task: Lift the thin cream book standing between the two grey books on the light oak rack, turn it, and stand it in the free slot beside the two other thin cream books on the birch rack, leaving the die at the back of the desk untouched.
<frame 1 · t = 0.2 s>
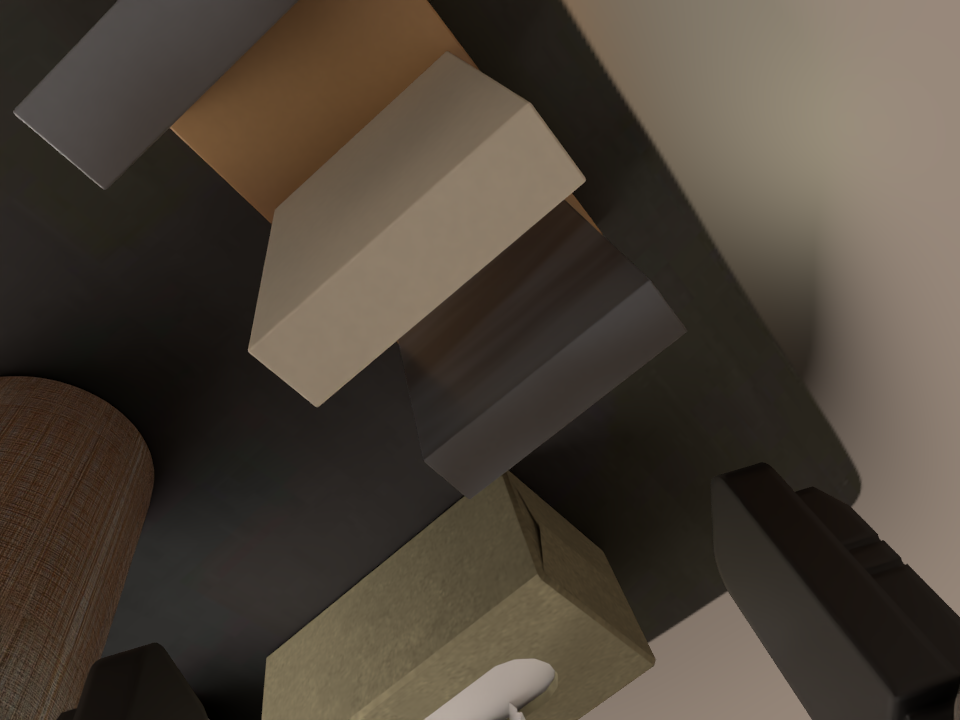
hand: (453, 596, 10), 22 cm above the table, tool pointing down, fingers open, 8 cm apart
grey book rack: (377, 149, 29), on the table
cream book: (379, 156, 27), point 1 cm above the table, touching grey book rack
tissue box: (436, 600, 42), on the table
planter: (40, 464, 32), on the table
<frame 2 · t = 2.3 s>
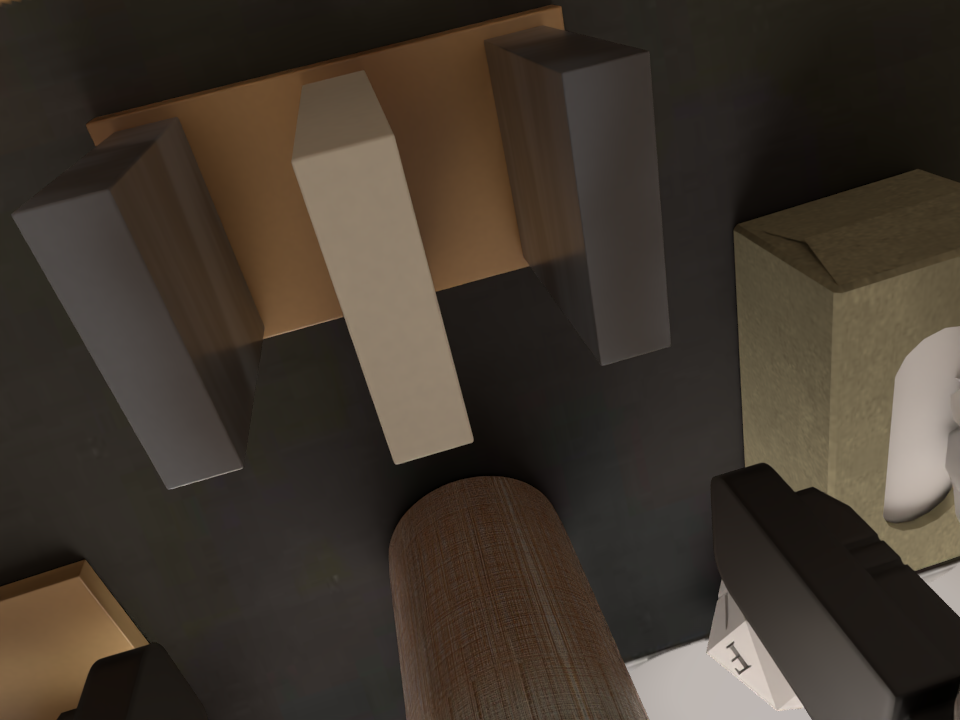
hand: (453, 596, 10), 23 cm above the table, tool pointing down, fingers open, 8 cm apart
grey book rack: (365, 185, 30), on the table
die: (750, 582, 47), on the table
cream book: (367, 193, 28), point 1 cm above the table, touching grey book rack
tissue box: (819, 351, 39), on the table
planter: (474, 540, 40), on the table
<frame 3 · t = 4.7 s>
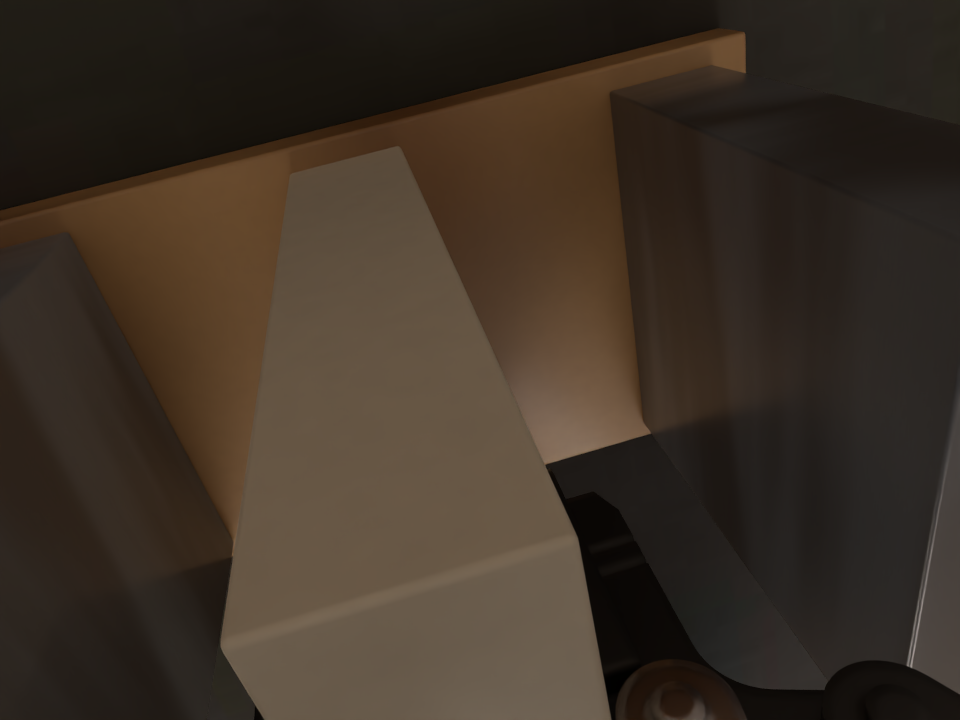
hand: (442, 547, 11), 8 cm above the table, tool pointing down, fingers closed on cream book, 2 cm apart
grey book rack: (396, 320, 18), on the table
cream book: (400, 341, 17), point 1 cm above the table, touching grey book rack, gripper
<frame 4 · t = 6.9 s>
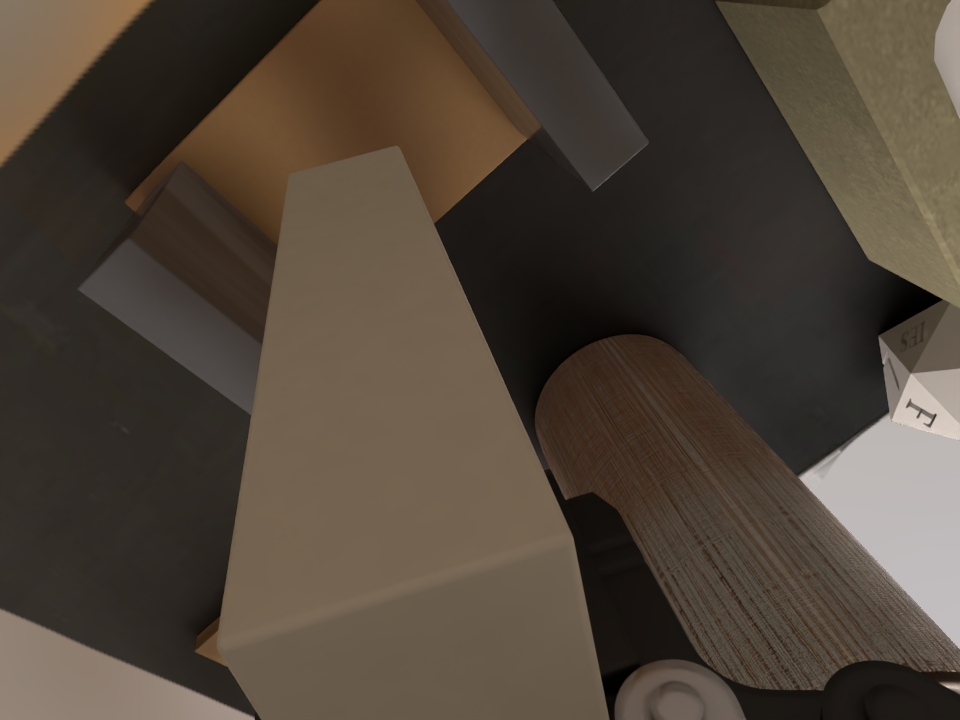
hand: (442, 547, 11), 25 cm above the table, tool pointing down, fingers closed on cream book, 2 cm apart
grey book rack: (356, 140, 32), on the table
die: (916, 337, 45), on the table
cream book: (400, 341, 17), point 18 cm above the table, touching gripper
tissue box: (875, 74, 36), on the table
planter: (612, 404, 42), on the table
cream book rack: (419, 679, 51), on the table
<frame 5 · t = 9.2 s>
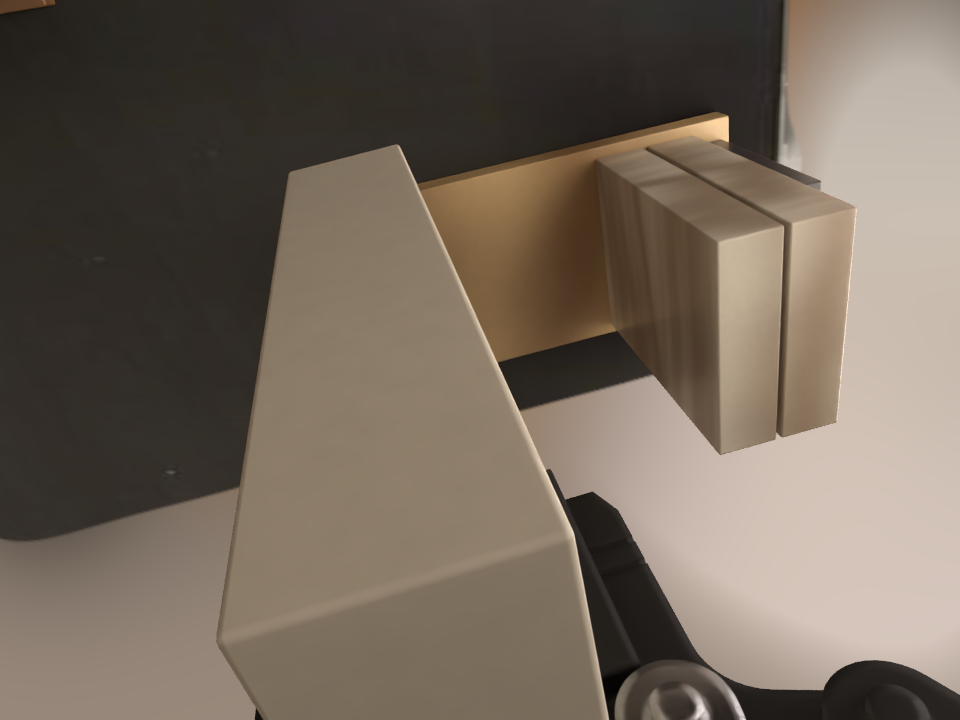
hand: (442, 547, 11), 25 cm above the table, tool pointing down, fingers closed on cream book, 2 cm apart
cream book: (399, 340, 17), point 18 cm above the table, touching gripper
cream book rack: (664, 221, 37), on the table
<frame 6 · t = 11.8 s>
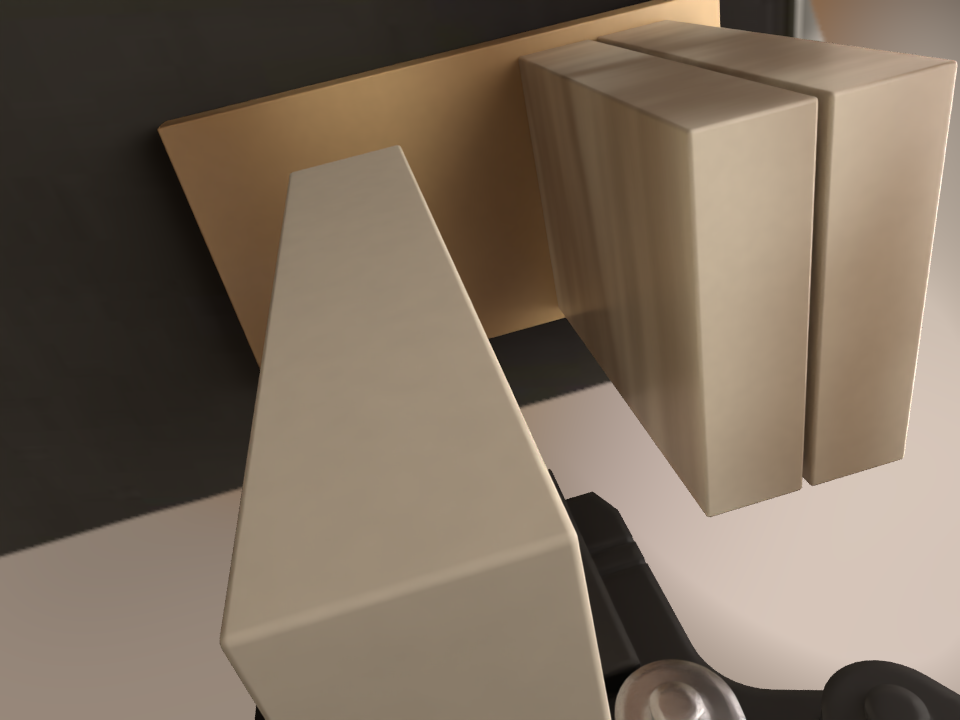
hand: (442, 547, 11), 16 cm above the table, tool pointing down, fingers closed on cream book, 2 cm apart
cream book: (400, 340, 17), point 9 cm above the table, touching gripper
cream book rack: (630, 158, 26), on the table
when the fingers open (8 cm above the table, at t = 13.9 s): cream book stays where it is, resting on cream book rack.
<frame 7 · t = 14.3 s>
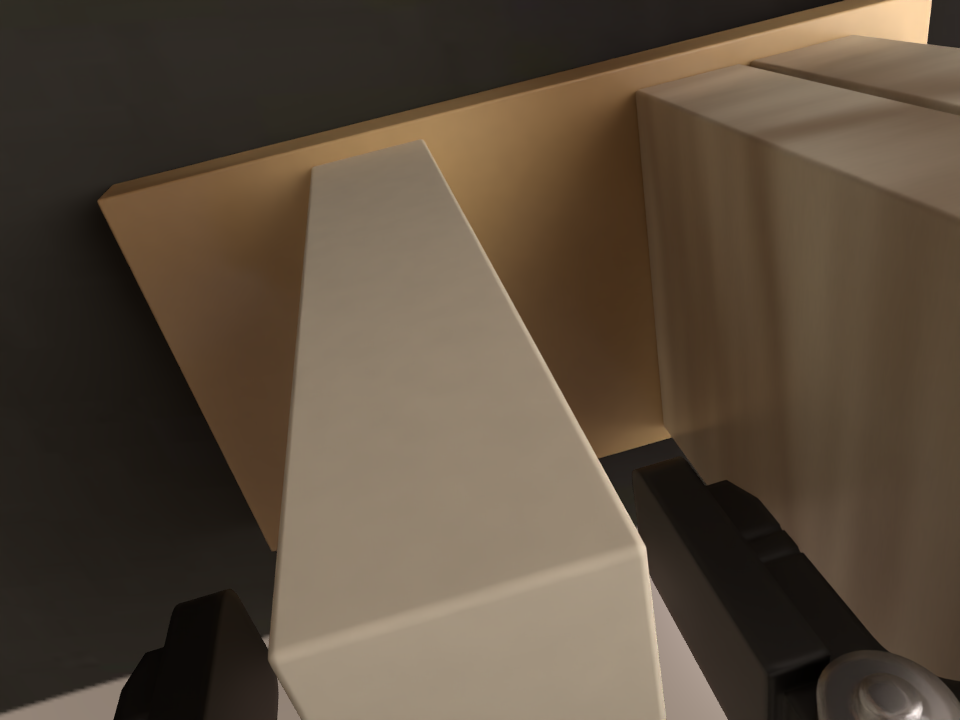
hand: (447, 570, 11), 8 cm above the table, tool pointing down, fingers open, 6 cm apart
cream book: (420, 338, 17), point 1 cm above the table, touching cream book rack
cream book rack: (770, 225, 18), on the table
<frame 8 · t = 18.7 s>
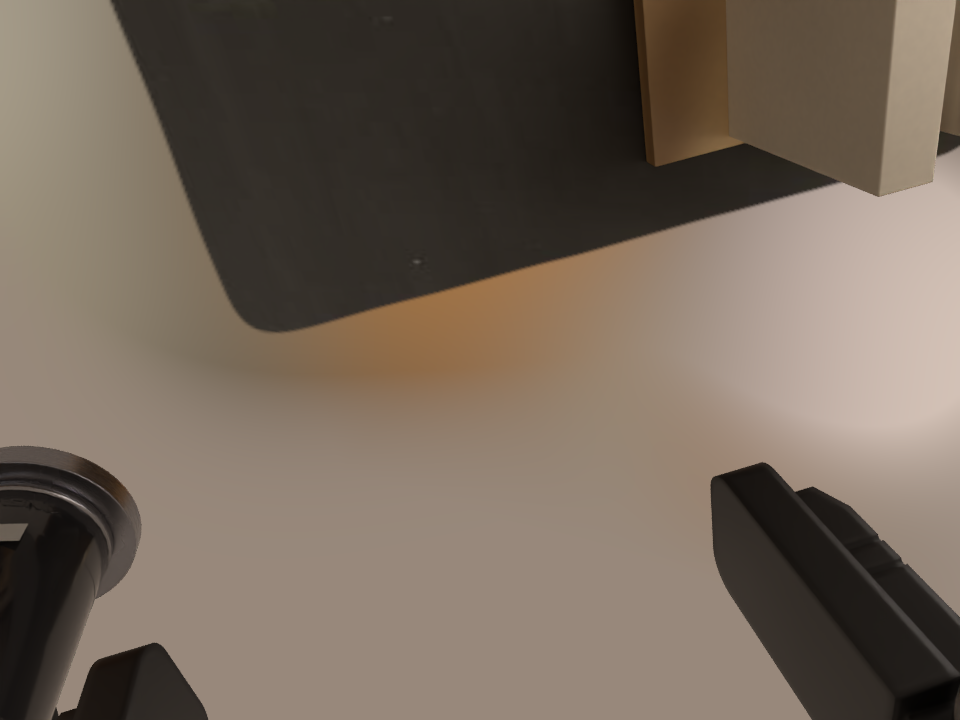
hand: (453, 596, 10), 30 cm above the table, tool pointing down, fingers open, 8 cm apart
cream book: (748, 42, 36), point 1 cm above the table, touching cream book rack
cream book rack: (902, 0, 38), on the table
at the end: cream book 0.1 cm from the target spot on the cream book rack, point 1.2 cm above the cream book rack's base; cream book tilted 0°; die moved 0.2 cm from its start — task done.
